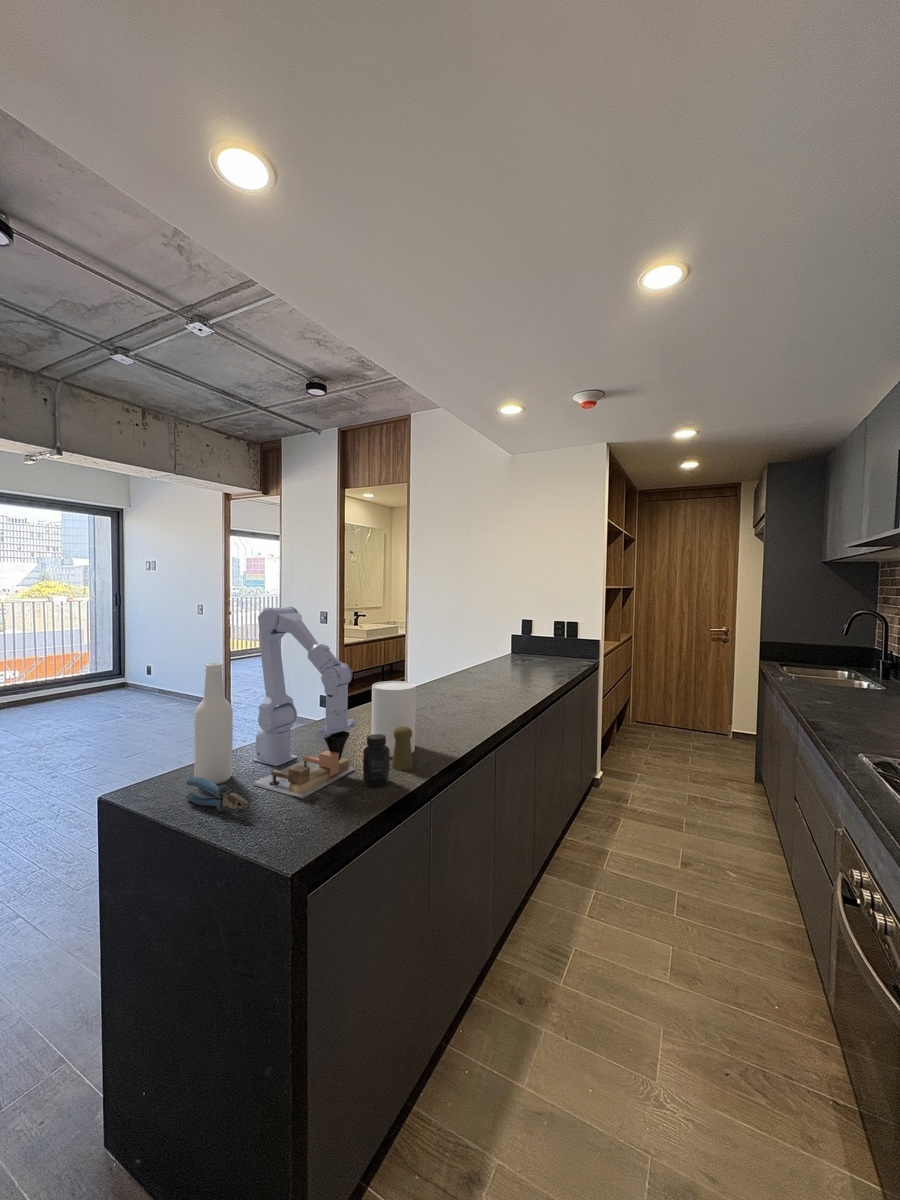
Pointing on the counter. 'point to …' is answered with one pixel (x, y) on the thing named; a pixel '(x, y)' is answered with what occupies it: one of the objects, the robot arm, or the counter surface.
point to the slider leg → (325, 761)
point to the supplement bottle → (376, 761)
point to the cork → (402, 749)
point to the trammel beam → (305, 776)
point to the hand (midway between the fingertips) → (336, 759)
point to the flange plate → (283, 783)
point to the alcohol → (213, 730)
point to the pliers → (221, 793)
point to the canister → (393, 710)
